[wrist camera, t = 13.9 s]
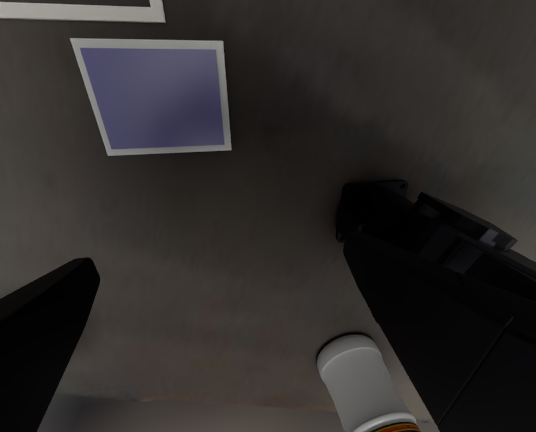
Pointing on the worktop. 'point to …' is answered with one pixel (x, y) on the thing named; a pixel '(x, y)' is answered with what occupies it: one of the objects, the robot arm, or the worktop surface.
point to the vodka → (363, 387)
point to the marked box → (83, 12)
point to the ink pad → (156, 94)
